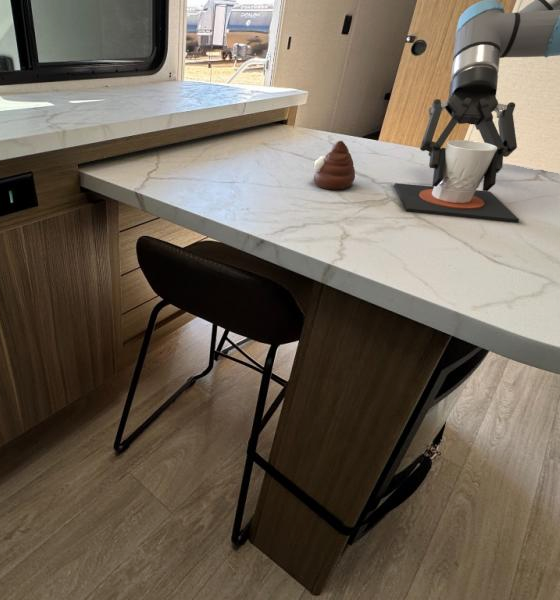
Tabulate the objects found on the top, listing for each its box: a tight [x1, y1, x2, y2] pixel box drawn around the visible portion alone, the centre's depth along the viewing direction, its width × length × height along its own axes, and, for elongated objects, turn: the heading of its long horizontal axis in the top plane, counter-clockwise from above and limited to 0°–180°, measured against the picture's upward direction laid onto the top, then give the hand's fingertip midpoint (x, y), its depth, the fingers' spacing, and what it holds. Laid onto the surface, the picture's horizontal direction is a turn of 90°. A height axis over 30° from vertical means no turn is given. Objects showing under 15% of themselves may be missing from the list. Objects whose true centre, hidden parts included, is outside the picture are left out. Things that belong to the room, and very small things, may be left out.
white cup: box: [432, 139, 497, 203], centre depth 79 cm, size 8×8×10 cm
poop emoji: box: [313, 140, 356, 191], centre depth 89 cm, size 10×8×9 cm
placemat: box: [393, 182, 520, 223], centre depth 82 cm, size 18×16×1 cm
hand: (462, 184), depth 77 cm, fingers closed on white cup, 8 cm apart
